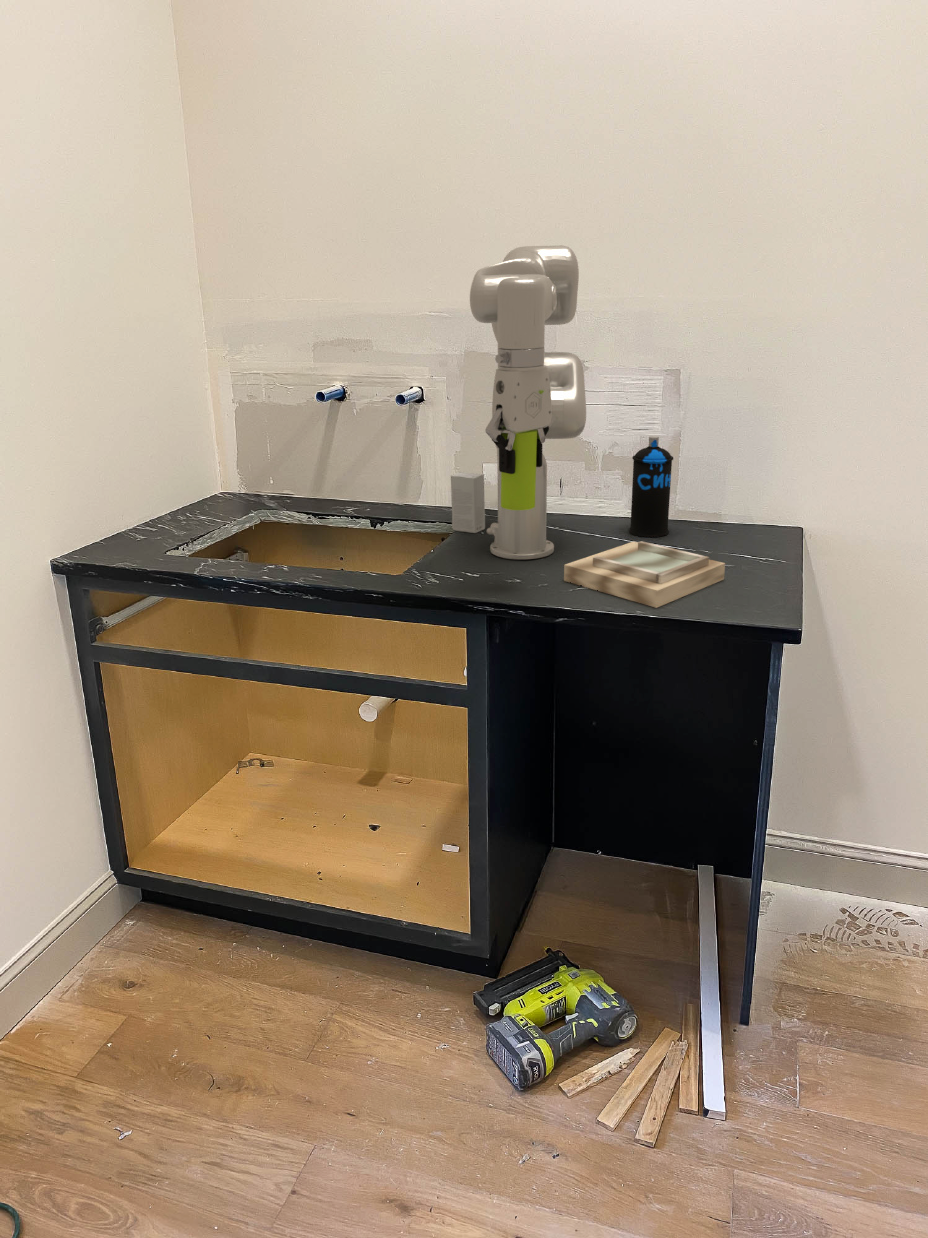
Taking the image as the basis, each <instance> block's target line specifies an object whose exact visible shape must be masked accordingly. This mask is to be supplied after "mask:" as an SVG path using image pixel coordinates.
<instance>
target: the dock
mask: <svg viewBox="0 0 928 1238" xmlns="http://www.w3.org/2000/svg"><path fill="white" fill-rule="evenodd" d="M563 567H564V568H563V569H564V570H563V581H564V582H566V583H567V582H568V583H570V582H571V583H570V584H572V585H577V586H580V585H582V586H581V587H585V588H587V589H591V590H594V591H597V590H598V591H597V592H600V593H601V592H602V593H604V594H608V595H611V596H615V597H619V598H620V599H625V600H628V601H631V602H634V603H639V604H642V605H645V606H648V607H652V608H656V609H657V608H659V607H661V606H664V605H666V604H669V603H671V602H673V601H674V602H675V601H677V600H678V599H681V598H682V597H685V596H688V595H691V594H692V593H693V594H694V593H695V592H697V591H700V590H702V589H704V588H706V587H709V586H712V585H714V584H716V583H718V582H721V581H723V580H725V572H726V571H725V570H726V563H725V562H721V561H717V560H714V559H710V557H709V556H705V555H702V554H698V553H693V552H689V551H685V550H681V549H676V548H672V547H668V546H663V545H659V544H654V543H651V542H646V541H642V540H641V541H638V542H637V541H630V542H628V543H625V544H623V545H618V546H616V547H613V548H609V549H607V550H605V551H601V552H599V553H595V554H592V555H589V556H587V557H583V558H580V559H576V560H574V561H571V562H569V563H566V564H564V565H563Z"/></svg>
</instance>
